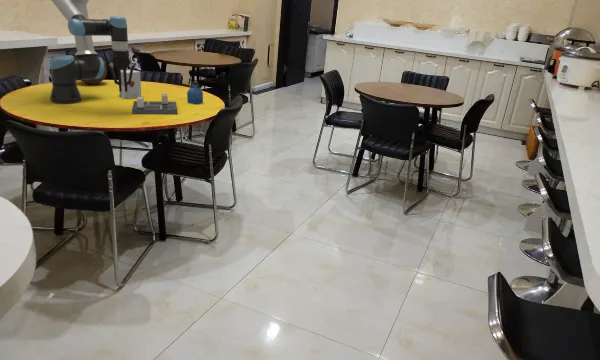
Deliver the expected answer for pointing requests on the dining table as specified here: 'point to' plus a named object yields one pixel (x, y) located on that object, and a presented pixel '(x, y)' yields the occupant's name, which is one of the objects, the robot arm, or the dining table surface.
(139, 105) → the fader
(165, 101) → the fader
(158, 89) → the dining table surface
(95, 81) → the bowl
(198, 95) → the perfume bottle
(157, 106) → the console
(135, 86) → the supplement box
